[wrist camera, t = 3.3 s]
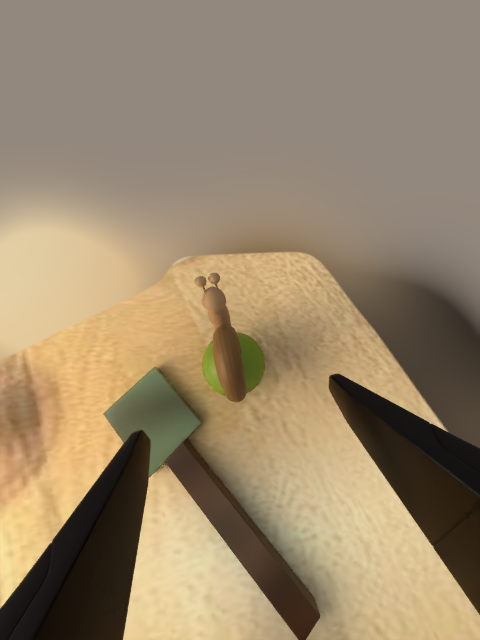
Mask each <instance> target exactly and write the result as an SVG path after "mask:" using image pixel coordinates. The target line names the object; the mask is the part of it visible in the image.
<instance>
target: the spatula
mask: <svg viewBox="0 0 480 640" xmlns="http://www.w3.org/2000/svg"><path fill="white" fill-rule="evenodd" d="M104 416H105V417H106V418H107V420H108V421H109V423H110V424H111V426H112V427H113V428H114V430H115V431H116V433H117V434H118V435H119V437H120V438H121V440H122V441H123V442H124V443H125V441H126V440H127V438H128V437H129V436H130V434H131V433H132V432H134V431H138V430H143V431H144V432H145V433H146V434H147V436H148V437H149V438H150V441H151V450H150V465H149V477H150V476H151V475H152V474H153V473H154V472H155V471H156V470H157V469H158V468H159V467H160V466H161V465H162V464H163V463H164V462H166V463H167V465H168V466H169V467H170V469H171V470H172V471H173V473H174V474H175V475H176V477H177V478H178V479H179V481H180V482H181V483H182V485H183V486H184V487H185V489H186V490H187V491H188V493H189V494H190V495H191V497H192V498H193V499H194V501H195V502H196V503H197V505H198V506H199V507H200V509H201V510H202V511H203V513H204V514H205V515H206V517H207V518H208V519H209V521H210V522H211V523H212V525H213V526H214V527H215V529H216V530H217V531H218V533H219V534H220V535H221V537H222V538H223V539H224V541H225V542H226V543H227V545H228V546H229V547H230V549H231V550H232V551H233V553H234V554H235V555H236V557H237V558H238V559H239V561H240V562H241V563H242V565H243V566H244V567H245V569H246V570H247V571H248V573H249V574H250V575H251V577H252V578H253V579H254V581H255V582H256V583H257V585H258V586H259V587H260V589H261V590H262V591H263V593H264V594H265V595H266V597H267V598H268V599H269V601H270V602H271V603H272V605H273V606H274V607H275V609H276V610H277V611H278V613H279V614H280V615H281V617H282V618H283V619H284V621H285V622H286V623H287V625H288V626H289V627H290V629H291V630H292V631H293V633H294V634H295V635H296V637H297V638H298V639H299V640H306V638H307V637H308V635H309V634H310V632H311V630H312V629H313V627H314V626H315V624H316V623H317V621H318V620H319V618H320V613H319V610H318V607H317V604H316V601H315V598H314V597H313V595H312V594H311V593H310V592H309V590H308V589H307V588H306V587H305V585H304V584H303V583H302V582H301V580H300V579H299V578H298V577H297V575H296V574H295V573H294V572H293V570H292V569H291V568H290V567H289V565H288V564H287V563H286V562H285V560H284V559H283V558H282V557H281V555H280V554H279V553H278V552H277V550H276V549H275V548H274V547H273V545H272V544H271V543H270V542H269V541H268V539H267V538H266V537H265V536H264V534H263V533H262V532H261V531H260V529H259V528H258V527H257V526H256V524H255V523H254V522H253V521H252V519H251V518H250V517H249V516H248V514H247V513H246V512H245V511H244V509H243V508H242V507H241V506H240V504H239V503H238V502H237V501H236V499H235V498H234V497H233V496H232V494H231V493H230V492H229V491H228V489H227V488H226V487H225V486H224V484H223V483H222V482H221V481H220V479H219V478H218V477H217V476H216V474H215V473H214V472H213V471H212V469H211V468H210V467H209V466H208V464H207V463H206V462H205V461H204V459H203V458H202V457H201V456H200V454H199V453H198V452H197V451H196V449H195V448H194V447H193V446H192V444H191V443H190V442H189V441H188V439H187V438H188V437H189V436H190V434H191V433H192V432H193V431H194V430H195V429H196V428H197V427H198V426H199V425H200V424H201V423H202V420H201V419H200V417H199V416H198V415H197V414H196V413H195V412H194V410H193V409H192V408H191V407H190V406H189V404H188V403H187V402H186V401H185V400H184V398H183V397H182V396H181V395H180V394H179V393H178V391H177V390H176V389H175V388H174V387H173V385H172V384H171V383H170V382H169V381H168V379H167V378H166V377H165V376H164V375H163V374H162V372H161V371H160V370H159V369H158V368H157V367H154V368H153V369H152V370H151V371H149V372H148V373H147V374H146V375H145V376H144V377H143V378H142V379H141V380H140V381H139V382H137V383H136V384H135V385H134V386H133V387H132V388H131V389H130V390H129V391H128V392H126V393H125V394H124V395H123V396H122V397H121V398H120V399H119V400H118V401H117V402H116V403H114V404H113V405H112V406H111V407H110V408H109V409H108V410H107V411H106V412H105V413H104Z"/></svg>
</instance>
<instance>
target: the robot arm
mask: <svg viewBox="0 0 480 640" xmlns="http://www.w3.org/2000/svg"><path fill="white" fill-rule="evenodd" d="M329 390H330V392H331V394H332V396H333V398H334V400H335V401H336V403H337V405H338V407H339V409H340V410H341V412H342V414H343V416H344V418H345V419H346V421H347V423H348V424H349V426H350V427H351V429H352V430H353V432H354V433H355V435H356V436H357V437H358V439H359V440H360V442H361V443H362V445H363V446H364V448H365V449H366V450H367V452H368V453H369V455H370V456H371V458H372V459H373V461H374V462H375V464H376V465H377V466H378V468H379V469H380V471H381V472H382V474H383V475H384V477H385V478H386V479H387V481H388V482H389V484H390V485H391V487H392V488H393V490H394V491H395V493H396V494H397V495H398V497H399V498H400V500H401V501H402V503H403V504H404V506H405V507H406V508H407V510H408V511H409V513H410V514H411V516H412V517H413V519H414V520H415V522H416V523H417V524H418V526H419V527H420V529H421V530H422V532H423V533H424V535H425V536H426V537H427V539H428V540H429V542H430V543H431V545H432V546H434V547H433V548H434V549H435V551H436V552H437V554H438V555H439V557H440V558H441V559H442V561H443V562H444V564H445V565H446V567H447V568H448V570H449V571H450V572H451V574H452V575H453V577H454V578H455V580H456V581H457V583H458V584H459V586H460V587H461V588H462V590H463V591H464V593H465V594H466V596H467V597H468V599H469V600H470V601H471V603H472V604H473V606H474V607H475V609H476V610H477V612H478V613H479V615H480V448H478V447H476V446H474V445H472V444H470V443H468V442H466V441H463V440H462V439H459V438H458V437H456V436H454V435H452V434H450V433H448V432H446V431H444V430H442V429H441V428H439V427H437V426H435V425H433V424H430V423H429V422H427V421H426V420H424V419H422V418H420V417H418V416H416V415H415V414H413V413H411V412H409V411H407V410H405V409H403V408H402V407H400V406H398V405H396V404H394V403H392V402H390V401H389V400H387V399H385V398H383V397H381V396H379V395H377V394H376V393H374V392H372V391H370V390H368V389H366V388H364V387H363V386H361V385H359V384H357V383H355V382H353V381H351V380H350V379H348V378H346V377H344V376H342V375H340V374H334V375H330V377H329ZM150 450H151V441H150V438H149V437H148V436H147V434H146V433H145V432H144V431H143V430H138V431H134V432H132V433H131V434H130V436H129V437H128V438H127V440H126V441H125V443H124V444H123V445H122V447H121V448H120V449H119V451H118V452H117V453H116V455H115V456H114V458H113V459H112V460H111V462H110V463H109V464H108V466H107V467H106V468H105V470H104V471H103V472H102V474H101V475H100V477H99V478H98V479H97V481H96V482H95V483H94V485H93V486H92V487H91V489H90V490H89V491H88V493H87V494H86V496H85V497H84V498H83V500H82V501H81V502H80V504H79V505H78V506H77V508H76V509H75V511H74V512H73V513H72V515H71V516H70V517H69V519H68V520H67V521H66V523H65V524H64V525H63V527H62V528H61V530H60V531H59V532H58V534H57V535H56V536H55V538H54V539H53V541H52V543H50V544H49V546H48V547H47V548H46V550H45V551H44V552H43V554H42V555H41V557H40V558H39V559H38V561H37V562H36V563H35V565H34V566H33V567H32V569H31V570H30V571H29V573H28V574H27V575H26V577H25V578H24V579H23V581H22V582H21V583H20V584H19V586H18V587H17V588H16V590H15V591H14V592H13V593H12V595H11V596H10V597H9V598H8V600H7V601H6V602H5V604H4V605H3V606H2V607H1V609H0V640H123V636H124V630H125V623H126V617H127V611H128V605H129V599H130V593H131V586H132V580H133V574H134V568H135V562H136V556H137V549H138V543H139V537H140V531H141V525H142V519H143V512H144V506H145V500H146V494H147V487H148V479H149V465H150Z"/></svg>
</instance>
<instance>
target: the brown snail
mask: <svg viewBox="0 0 480 640" xmlns="http://www.w3.org/2000/svg"><path fill="white" fill-rule="evenodd" d="M219 280H220V276H219V274H217V273H211V274H210V275H209V281H210V282H211V283H212V284H215V286H216V287H210V288H208V289H206V290H205V288H204V286H205V285H206V279H205V277H203V276H199V277H197V278H196V279H195V284H196V285H197V286H198V287H203V290H204V294H203V297H202V302H203V305H204V307H205V308H206V309H207V310H208V314H209V318H210V320H211V323H212V324H213V326H214V328H215V332H214V336H213V341H212V342H211V343H210V344H209V346H208V347H207V349H206V351H205V353H204V356H203V363H202V367H203V373H204V376H205V378H206V380H207V382H208V384H209V385H210V386H211V387H212V388H213V389H214V390H215V391H217V392H219V393H221V394H223V395H226V396H227V398H228V399H229V400H230V401H233V402H239V401H241V400H243V399H244V398H245V396H246V393H248V392H250V391H252V390H253V389H254V388H255V387H256V386H257V385H258V384H259V382H260V381H261V379H262V377H263V374H264V370H265V359H264V354H263V352H262V350H261V348H260V346H259V345H258V343H257V342H256V341H255V340H254V339H252V338H251V337H249V336H248V335H245V334H242V333H237V332H236V331H235V329H234V328H233V327H232V326H231V323H230V316H229V312H228V309H227V307H226V305H225V304H226V299H225V295H224V293H223V292H222V291H221V290H220V289H218V287H217V283H218V282H219Z"/></svg>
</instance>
